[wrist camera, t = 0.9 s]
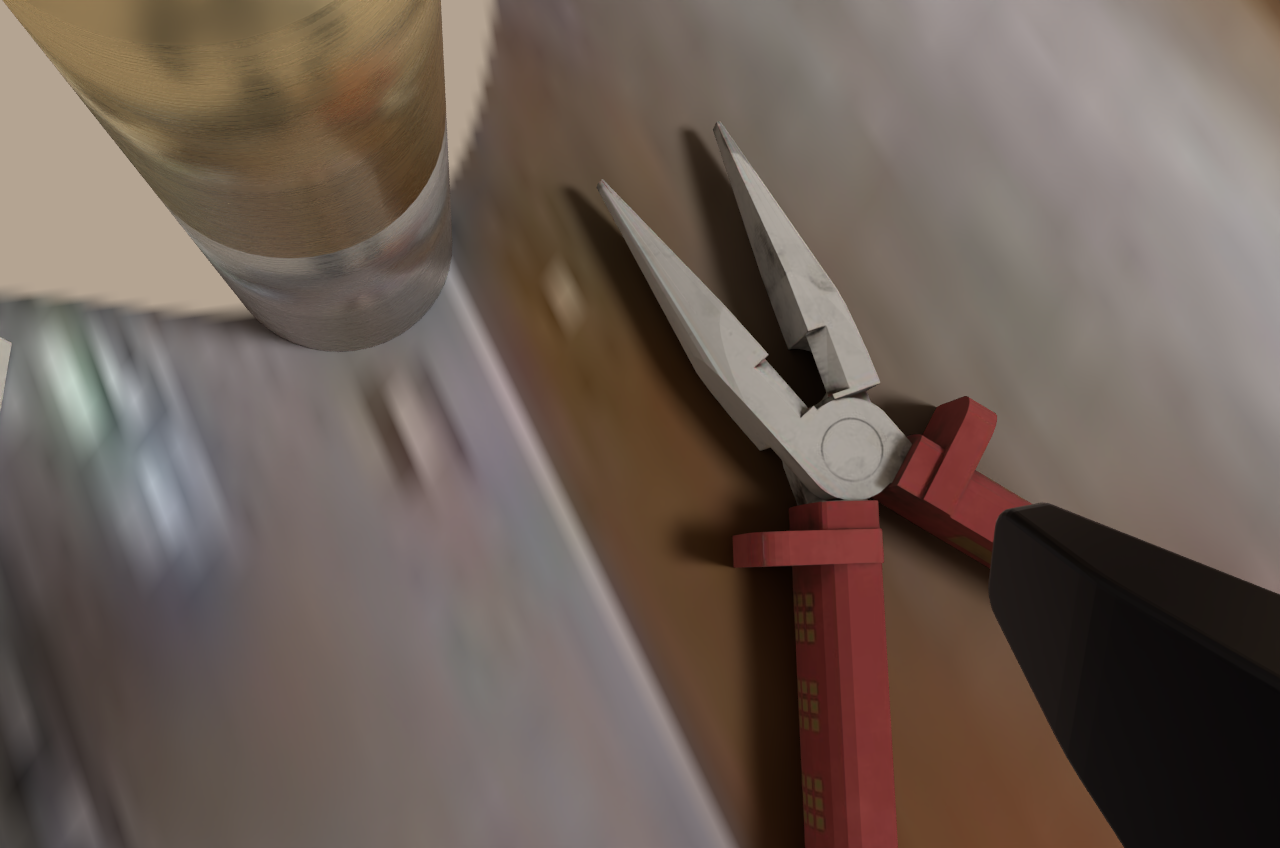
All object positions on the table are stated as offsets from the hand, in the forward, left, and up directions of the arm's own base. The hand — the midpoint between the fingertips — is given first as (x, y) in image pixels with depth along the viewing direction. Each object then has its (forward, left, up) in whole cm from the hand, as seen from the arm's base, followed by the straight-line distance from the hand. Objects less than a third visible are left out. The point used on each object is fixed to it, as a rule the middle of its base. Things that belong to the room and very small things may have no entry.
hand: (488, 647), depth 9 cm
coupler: (+7, +3, -13) cm, 15 cm away
